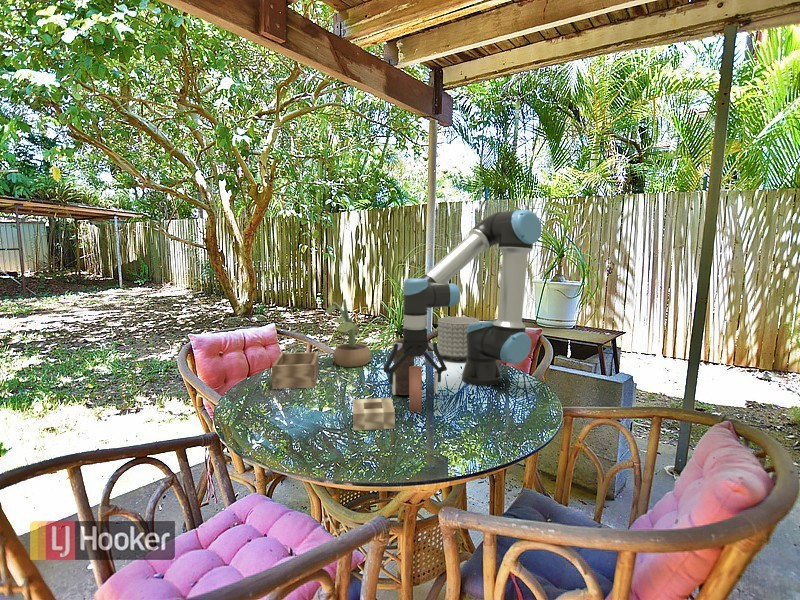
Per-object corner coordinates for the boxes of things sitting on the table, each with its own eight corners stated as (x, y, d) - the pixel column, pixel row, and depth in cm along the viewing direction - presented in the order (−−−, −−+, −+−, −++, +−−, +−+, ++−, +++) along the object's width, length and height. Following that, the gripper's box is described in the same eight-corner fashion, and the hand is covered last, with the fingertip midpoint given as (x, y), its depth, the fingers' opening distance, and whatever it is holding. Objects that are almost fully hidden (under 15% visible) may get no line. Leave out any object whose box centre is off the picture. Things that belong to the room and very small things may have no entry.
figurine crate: (318, 373, 186) (318, 352, 184) (314, 388, 166) (314, 364, 165) (281, 374, 184) (280, 353, 183) (272, 389, 165) (271, 366, 164)
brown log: (412, 398, 154) (412, 342, 152) (391, 397, 156) (391, 341, 153) (416, 391, 162) (415, 337, 159) (396, 390, 163) (395, 336, 161)
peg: (420, 407, 146) (420, 365, 144) (422, 411, 142) (422, 368, 140) (408, 407, 146) (408, 366, 144) (410, 412, 142) (409, 369, 140)
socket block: (391, 413, 141) (391, 397, 141) (394, 428, 129) (394, 411, 129) (353, 414, 140) (353, 399, 139) (353, 430, 128) (352, 413, 127)
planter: (436, 362, 201) (436, 322, 199) (439, 352, 220) (439, 316, 218) (479, 364, 198) (479, 323, 196) (478, 353, 217) (479, 316, 215)
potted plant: (340, 357, 212) (338, 294, 208) (376, 359, 207) (375, 295, 204) (319, 370, 191) (317, 300, 187) (358, 373, 186) (357, 301, 182)
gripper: (451, 324, 146) (450, 387, 148) (375, 326, 143) (375, 390, 146) (456, 329, 138) (455, 395, 141) (376, 330, 136) (376, 397, 138)
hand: (414, 392), depth 143 cm, fingers open, 13 cm apart
